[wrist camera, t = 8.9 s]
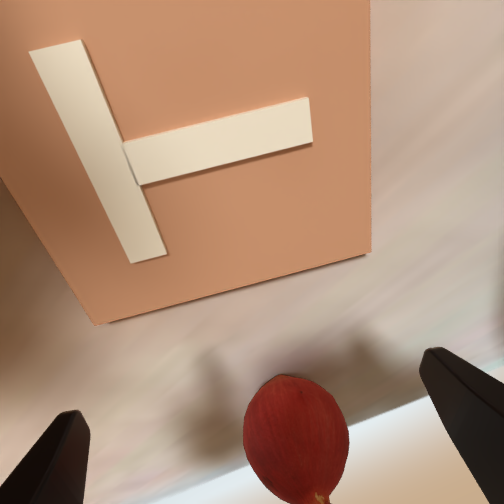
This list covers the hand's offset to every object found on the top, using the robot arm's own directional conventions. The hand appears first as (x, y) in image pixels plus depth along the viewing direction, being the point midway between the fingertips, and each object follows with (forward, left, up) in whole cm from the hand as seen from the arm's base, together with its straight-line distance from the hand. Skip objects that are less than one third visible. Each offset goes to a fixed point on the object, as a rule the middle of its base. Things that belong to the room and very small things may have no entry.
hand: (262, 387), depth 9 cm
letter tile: (0, -4, -9) cm, 10 cm away
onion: (-1, +12, -9) cm, 15 cm away
